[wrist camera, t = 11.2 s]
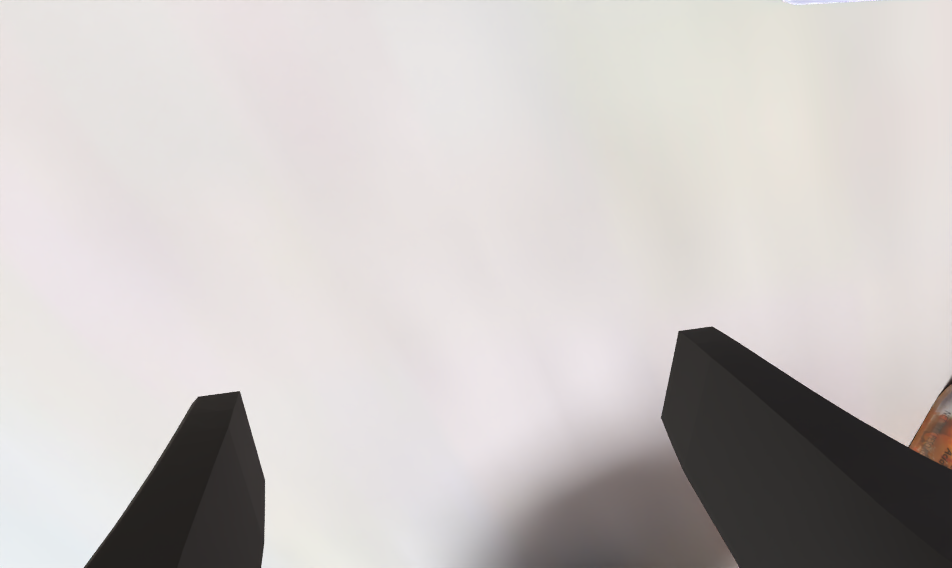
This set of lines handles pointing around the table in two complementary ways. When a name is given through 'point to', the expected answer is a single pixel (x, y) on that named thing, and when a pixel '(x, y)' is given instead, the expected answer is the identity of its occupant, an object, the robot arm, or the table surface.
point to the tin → (937, 431)
